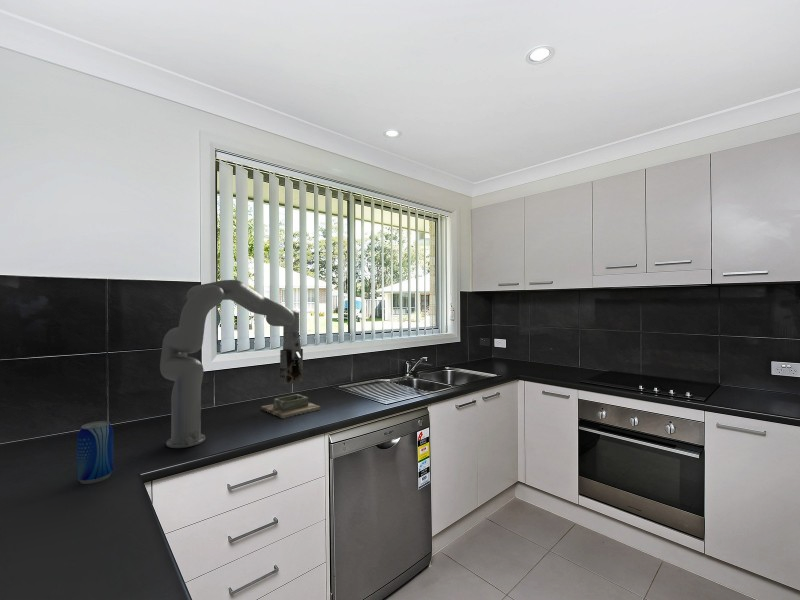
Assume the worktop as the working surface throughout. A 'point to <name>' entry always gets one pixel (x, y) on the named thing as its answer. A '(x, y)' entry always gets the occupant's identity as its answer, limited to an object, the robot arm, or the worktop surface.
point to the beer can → (94, 452)
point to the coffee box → (289, 368)
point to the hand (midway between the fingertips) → (291, 372)
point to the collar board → (290, 406)
